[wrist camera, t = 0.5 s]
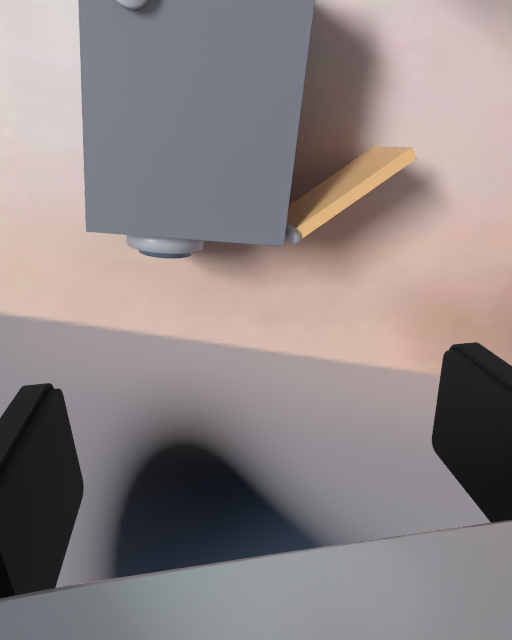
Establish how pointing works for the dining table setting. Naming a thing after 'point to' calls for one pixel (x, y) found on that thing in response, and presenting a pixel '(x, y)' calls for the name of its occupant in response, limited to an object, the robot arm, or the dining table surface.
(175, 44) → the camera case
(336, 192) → the tan cabinet door
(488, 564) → the robot arm
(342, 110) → the dining table surface
